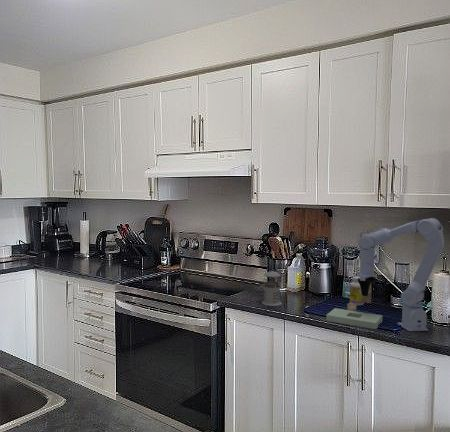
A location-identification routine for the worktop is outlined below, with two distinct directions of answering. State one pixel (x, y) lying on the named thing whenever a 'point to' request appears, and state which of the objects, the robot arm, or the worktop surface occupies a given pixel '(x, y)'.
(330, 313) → the hole board
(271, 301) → the french press
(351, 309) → the short stub
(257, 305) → the worktop surface
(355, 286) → the supplement bottle
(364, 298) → the tall dowel
